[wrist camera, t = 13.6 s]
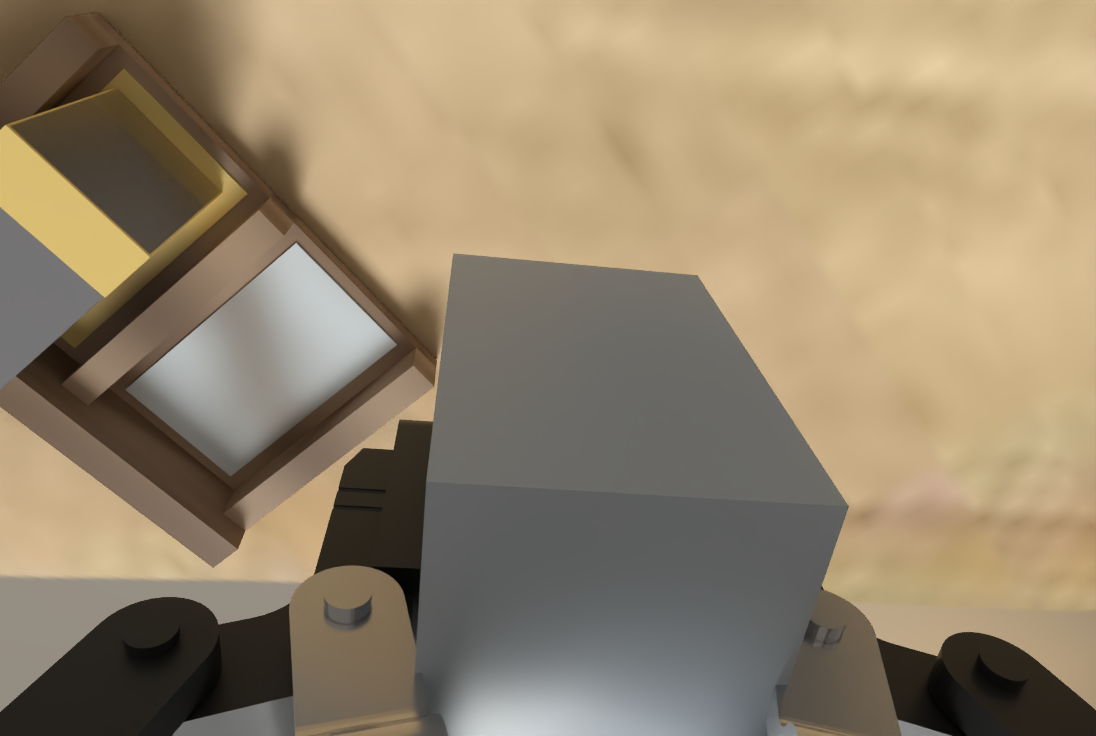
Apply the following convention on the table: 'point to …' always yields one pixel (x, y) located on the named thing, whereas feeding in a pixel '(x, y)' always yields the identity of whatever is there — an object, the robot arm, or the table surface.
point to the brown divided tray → (207, 333)
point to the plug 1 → (82, 214)
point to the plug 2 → (610, 511)
